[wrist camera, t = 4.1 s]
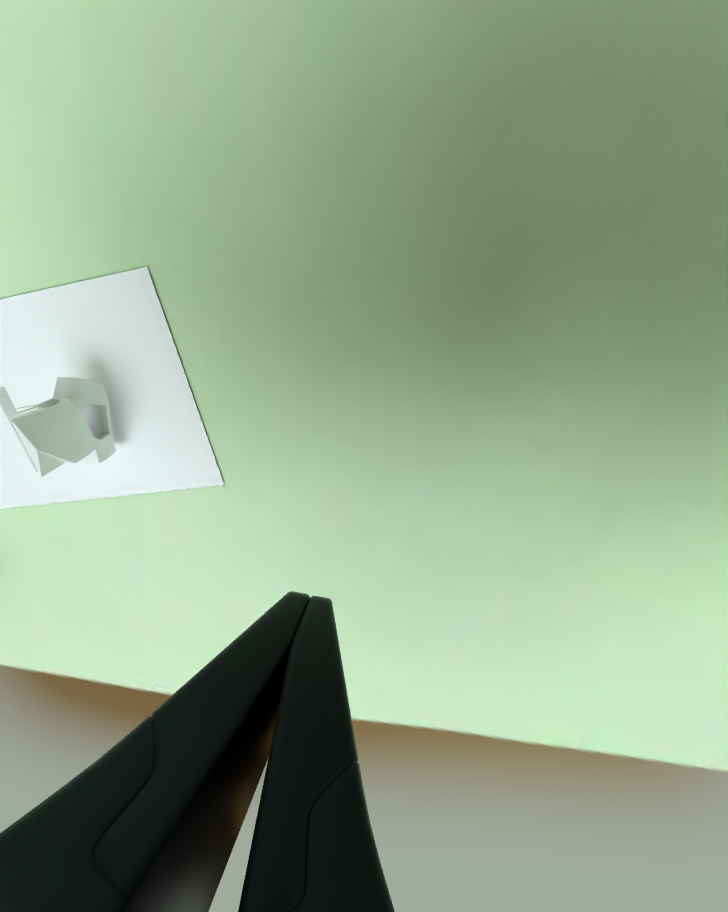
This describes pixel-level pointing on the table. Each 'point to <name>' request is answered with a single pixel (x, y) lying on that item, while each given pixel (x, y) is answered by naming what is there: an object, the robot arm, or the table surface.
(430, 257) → the table surface
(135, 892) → the robot arm
